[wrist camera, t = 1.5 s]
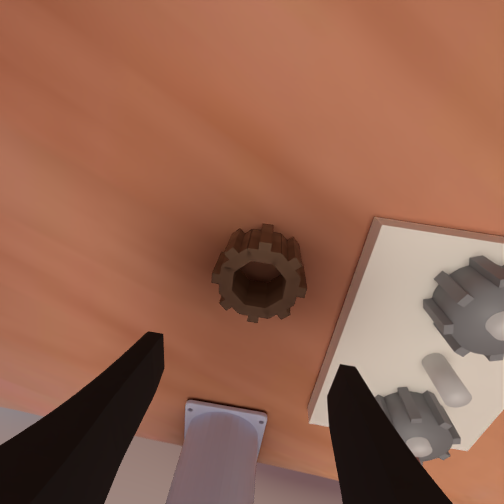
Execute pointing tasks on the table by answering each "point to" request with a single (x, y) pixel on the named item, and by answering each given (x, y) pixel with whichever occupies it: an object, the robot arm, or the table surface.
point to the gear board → (424, 334)
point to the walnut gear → (254, 292)
